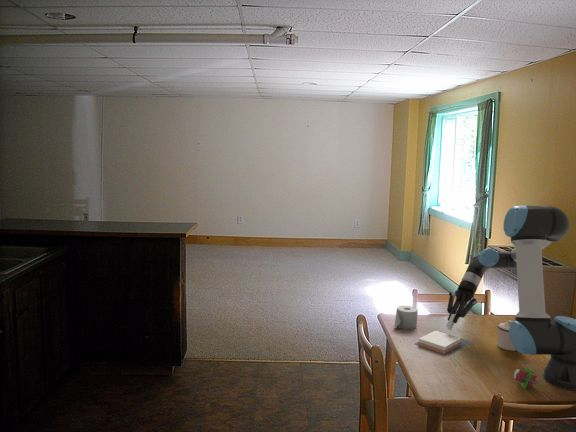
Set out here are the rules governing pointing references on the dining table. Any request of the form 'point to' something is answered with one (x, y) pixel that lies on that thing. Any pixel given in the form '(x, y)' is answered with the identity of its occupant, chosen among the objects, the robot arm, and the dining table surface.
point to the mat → (463, 344)
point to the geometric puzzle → (525, 377)
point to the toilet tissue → (406, 317)
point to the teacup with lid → (504, 336)
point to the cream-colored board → (439, 342)
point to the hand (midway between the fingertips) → (448, 328)
